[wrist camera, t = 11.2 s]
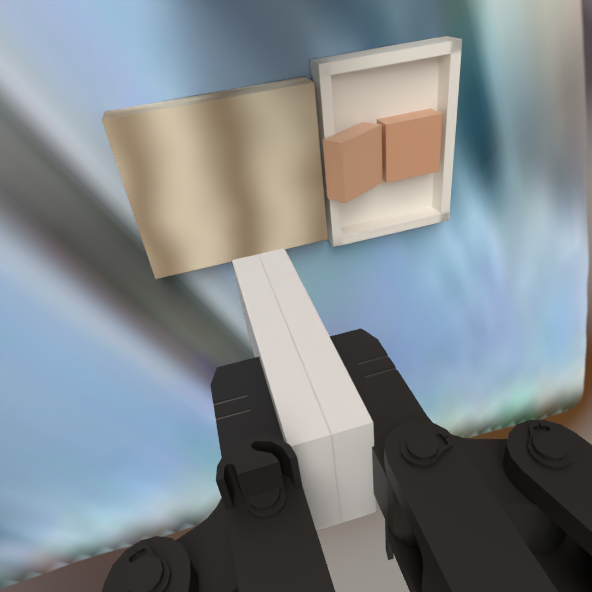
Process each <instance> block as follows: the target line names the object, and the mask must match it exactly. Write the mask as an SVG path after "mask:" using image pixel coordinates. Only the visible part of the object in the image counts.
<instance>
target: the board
mask: <svg viewBox="0 0 592 592" xmlns="http://www.w3.org/2000/svg"><path fill="white" fill-rule="evenodd" d="M102 122H103V125H104V128H105V131H106V134H107V137H108V140H109V143H110V146H111V149H112V152H113V155H114V158H115V161H116V163H117V166H118V169H119V172H120V175H121V178H122V181H123V184H124V187H125V190H126V193H127V196H128V199H129V202H130V205H131V208H132V211H133V214H134V217H135V220H136V223H137V226H138V229H139V232H140V235H141V238H142V240H143V243H144V246H145V249H146V252H147V255H148V258H149V261H150V264H151V267H152V270H153V273H154V276H155V279H158V278H162V277H167V276H171V275H175V274H180V273H184V272H188V271H193V270H197V269H201V268H206V267H210V266H215V265H219V264H223V263H228V262H232V260H235V259H240V258H244V257H248V256H253V255H257V254H261V253H266V252H270V251H274V250H279V249H283V248H284V249H288V248H293V247H297V246H302V245H306V244H310V243H315V242H319V241H323V240H328V235H327V224H326V212H325V201H324V189H323V178H322V167H321V155H320V144H319V132H318V121H317V109H316V98H315V87H314V82H313V81H311V80H310V79H308V78H306V77H305V76H303V77H297V78H292V79H286V80H280V81H275V82H269V83H263V84H258V85H252V86H247V87H241V88H235V89H230V90H224V91H218V92H213V93H207V94H202V95H196V96H190V97H185V98H179V99H173V100H168V101H162V102H157V103H151V104H145V105H140V106H134V107H128V108H123V109H117V110H111V111H106V112H105V113H104V116H103V119H102Z"/></svg>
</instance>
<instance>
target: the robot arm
mask: <svg viewBox="0 0 592 592" xmlns="http://www.w3.org/2000/svg"><path fill="white" fill-rule="evenodd" d="M232 263H233V267H234V272H235V276H236V281H237V285H238V290H239V294H240V299H241V303H242V308H243V312H244V316H245V321H246V325H247V330H248V334H249V338H250V342H251V345H252V349H253V352H254V356H255V358H252V359H248V360H244V361H240V362H236V363H232V364H229V365H225V366H221V367H217V369H216V372H215V374H214V377H213V380H212V383H211V391H212V398H213V404H214V411H215V417H216V423H217V430H218V436H219V443H220V449H221V456H222V458H221V460H220V462H219V464H218V466H217V474H216V482H217V485H218V488H219V491H220V494H221V496H222V498H221V500H220V502H219V504H218V506H217V507H216V509H215V510H214V511H213V512H212V514H211V515H210V516H209V517H208V518H207V519H206V520H204V521H203V522H202V523H201V524H199V525H198V526H197V527H195V528H194V529H192V530H191V531H189V532H188V533H186V534H185V535H183V536H182V537H180V538H179V539H177V540H176V541H175V540H174V539H172V538H167V537H159V536H156V537H152V538H149V539H145V540H141V541H139V542H138V543H136V544H135V545H133V546H132V547H130V548H129V549H127V550H126V551H125V552H124V553H123V554H122V555H121V556H120V557H119V559H118V560H117V561H116V562H115V563H114V564H113V566H112V568H111V570H110V572H109V574H108V577H107V579H106V581H105V583H104V586H103V590H102V592H335V590H334V586H333V583H332V580H331V577H330V573H329V570H328V567H327V564H326V561H325V557H324V554H323V551H322V548H321V544H320V541H319V538H318V535H317V532H316V531H318V530H321V529H324V528H327V527H330V526H334V525H337V524H340V523H343V522H346V521H349V520H352V519H355V518H359V517H362V516H365V515H368V514H371V513H374V512H376V500H377V502H378V504H379V506H380V509H381V511H382V513H383V515H384V518H385V532H386V533H385V535H386V552H387V556H388V560H390V559H393V553H394V555H395V558H396V560H397V562H398V565H399V567H400V569H401V572H402V574H403V576H404V579H405V581H406V583H407V586H408V588H409V591H410V592H592V445H591V444H590V443H588V442H587V441H586V440H584V439H583V438H582V437H580V436H578V434H576V433H575V432H573V431H571V430H569V429H567V428H566V427H564V426H562V425H560V424H557V423H553V422H549V421H546V420H529V421H526V422H523V423H520V424H517V425H516V426H515V427H514V428H513V429H512V430H511V431H510V433H509V436H508V439H469V438H462V437H458V436H455V435H451V434H450V433H449V432H448V431H447V430H446V429H444V428H442V427H440V426H438V425H436V424H434V423H433V422H432V421H431V420H430V419H429V418H428V417H427V415H426V414H425V412H424V411H423V409H422V407H421V406H420V404H419V403H418V401H417V400H416V398H415V397H414V395H413V393H412V392H411V390H410V389H409V387H408V386H407V384H406V383H405V381H404V379H403V378H402V376H401V375H400V373H399V372H398V370H396V368H395V365H394V364H393V362H392V361H391V359H390V358H388V355H387V353H386V351H385V350H384V348H383V347H382V345H381V344H380V342H379V341H378V339H376V338H375V337H373V336H372V335H370V334H369V333H367V332H366V331H364V330H363V329H358V330H354V331H350V332H346V333H342V334H338V335H335V336H331V337H329V335H328V333H327V331H326V329H325V327H324V325H323V323H322V321H321V319H320V317H319V315H318V313H317V311H316V309H315V307H314V305H313V303H312V301H311V300H310V298H309V296H308V294H307V292H306V290H305V288H304V286H303V284H302V282H301V280H300V278H299V276H298V274H297V272H296V270H295V268H294V266H293V264H292V262H291V260H290V258H289V257H288V255H287V253H286V251H285V249H284V248H283V249H279V250H274V251H270V252H266V253H261V254H257V255H253V256H248V257H244V258H240V259H235V260H232Z"/></svg>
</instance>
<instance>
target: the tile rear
mask: <svg viewBox="0 0 592 592" xmlns="http://www.w3.org/2000/svg"><path fill="white" fill-rule="evenodd" d="M377 124H381V125H382V179H383V180H384V181H385V182H386V183H388V182H393V181H397V180H402V179H406V178H411V177H416V176H420V175H425V174H429V173H434V172H439V163H440V145H441V127H442V113H440V112H438V111H436V110H433V109H431V108H430V109H425V110H420V111H415V112H410V113H405V114H400V115H395V116H389V117H384V118H379V119H377Z"/></svg>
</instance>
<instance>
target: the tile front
mask: <svg viewBox="0 0 592 592" xmlns="http://www.w3.org/2000/svg"><path fill="white" fill-rule="evenodd" d="M323 151H324V163H325V174H326V186H327V198H328V199H332V200H335V201H339V202H342V203H347V202H349V201H351V200H353V199H354V198H356V197H358V196H360V195H361V194H363V193H365V192H367V191H368V190H370V189H372V188H374V187H375V186H377V185H379V184H381V183H382V125H381V124H374V123H367V122H361V123H359V124H356V125H354V126H352V127H350V128H347V129H345V130H343V131H341V132H338V133H336V134H334V135H332V136H329V137H327V138H325V139H323Z"/></svg>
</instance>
